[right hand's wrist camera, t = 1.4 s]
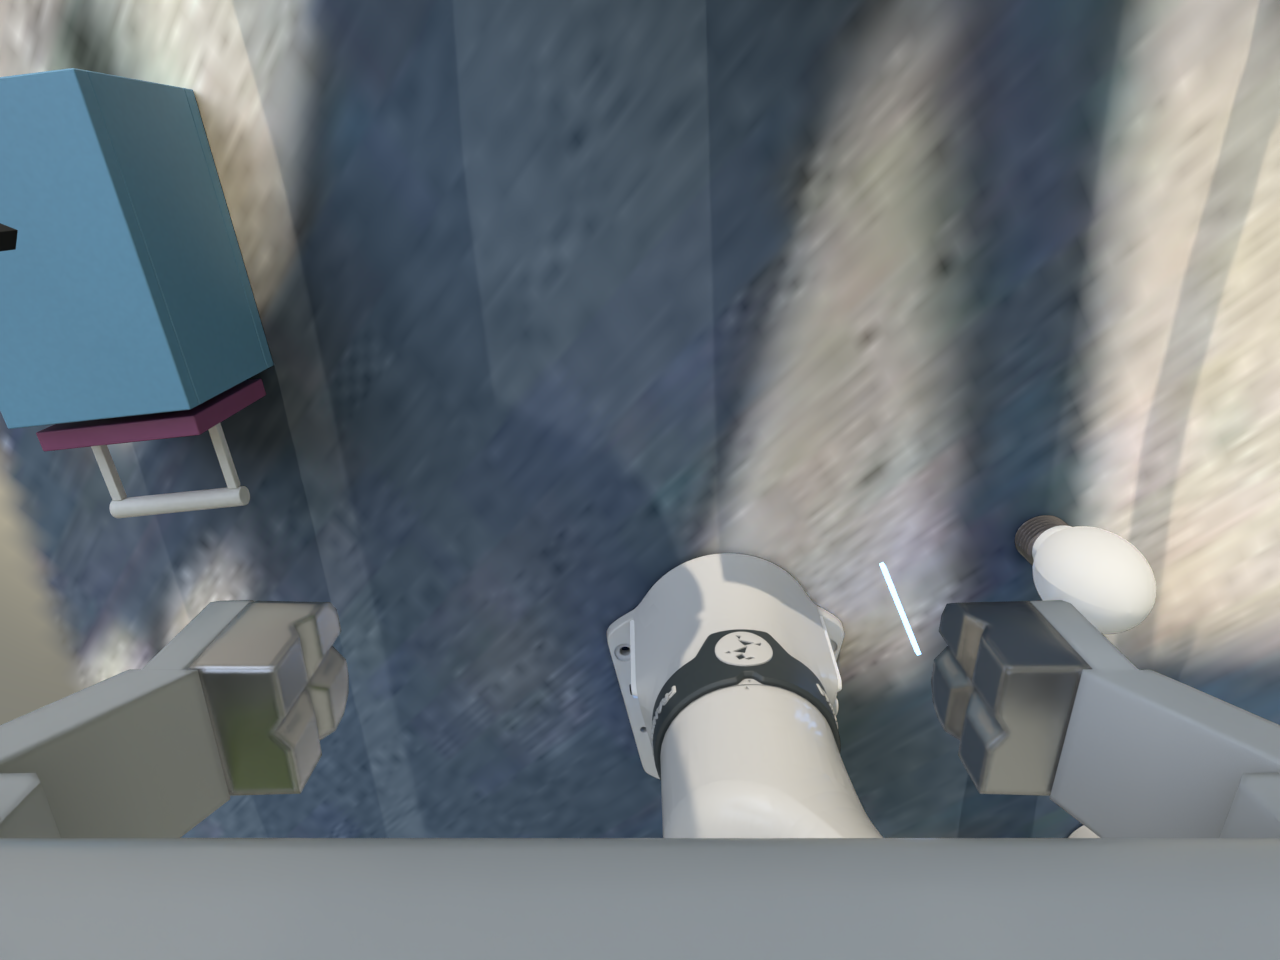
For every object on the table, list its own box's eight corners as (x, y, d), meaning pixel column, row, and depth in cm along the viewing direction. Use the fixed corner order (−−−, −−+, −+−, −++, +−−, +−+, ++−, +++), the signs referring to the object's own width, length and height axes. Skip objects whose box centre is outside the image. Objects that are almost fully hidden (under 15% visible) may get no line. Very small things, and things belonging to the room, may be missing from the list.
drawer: (290, 472, 55) (230, 524, 47) (161, 486, 56) (80, 539, 48) (191, 145, 47) (98, 139, 39) (41, 163, 47) (-81, 161, 39)
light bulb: (988, 572, 59) (1061, 655, 49) (1010, 491, 57) (1091, 562, 46) (1074, 576, 59) (1164, 661, 49) (1099, 497, 57) (1200, 568, 47)
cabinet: (274, 365, 53) (190, 410, 43) (124, 381, 54) (7, 429, 44) (193, 89, 47) (73, 67, 37) (23, 110, 47) (-140, 94, 37)
